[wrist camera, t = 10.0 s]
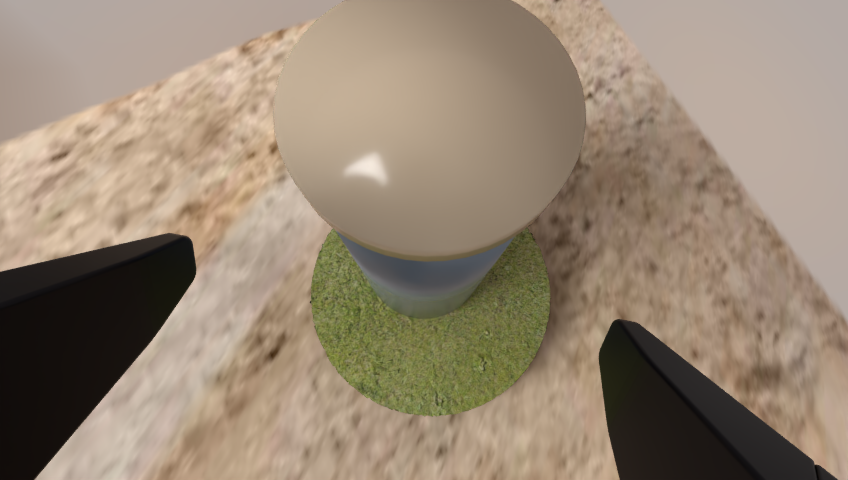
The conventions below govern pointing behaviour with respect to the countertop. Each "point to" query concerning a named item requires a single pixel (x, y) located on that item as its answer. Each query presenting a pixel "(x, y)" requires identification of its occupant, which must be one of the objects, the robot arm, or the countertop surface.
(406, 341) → the mat
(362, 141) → the canister
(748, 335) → the countertop surface
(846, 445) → the countertop surface
